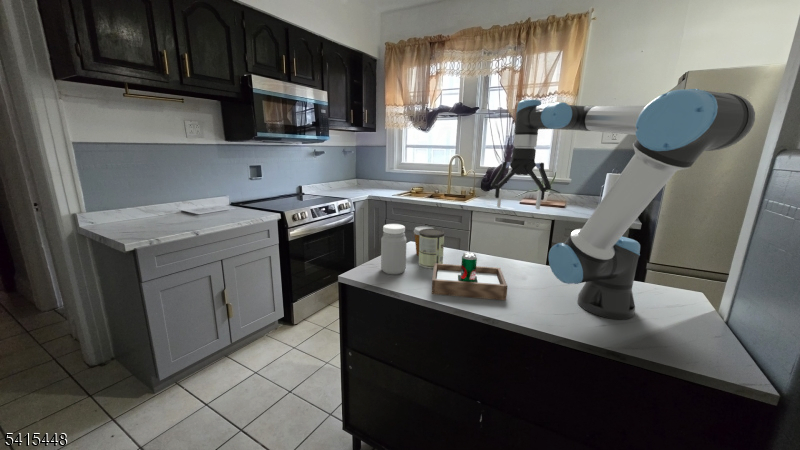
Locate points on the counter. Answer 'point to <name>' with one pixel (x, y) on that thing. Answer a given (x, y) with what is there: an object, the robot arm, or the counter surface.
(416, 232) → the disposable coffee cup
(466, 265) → the soda can
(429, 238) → the coffee can
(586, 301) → the robot arm
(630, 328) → the counter surface
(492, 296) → the open box
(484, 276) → the socket plate
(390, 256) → the jar
